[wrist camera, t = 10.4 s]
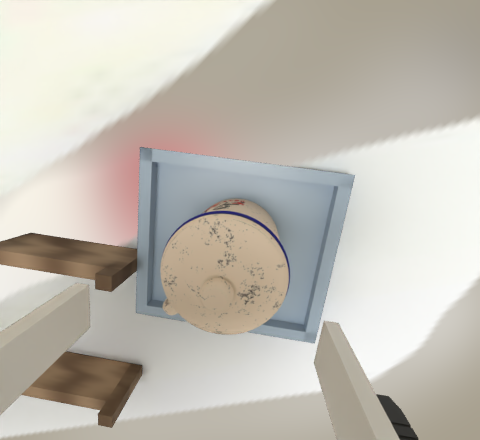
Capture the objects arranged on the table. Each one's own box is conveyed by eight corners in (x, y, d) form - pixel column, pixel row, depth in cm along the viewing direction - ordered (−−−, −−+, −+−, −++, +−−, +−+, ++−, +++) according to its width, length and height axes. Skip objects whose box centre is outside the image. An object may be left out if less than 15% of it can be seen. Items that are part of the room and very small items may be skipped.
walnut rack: (41, 356, 32) (-12, 402, 25) (30, 232, 27) (-37, 252, 21) (141, 374, 31) (111, 427, 25) (146, 250, 27) (111, 276, 21)
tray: (144, 302, 28) (135, 313, 26) (149, 148, 24) (139, 146, 22) (310, 330, 27) (314, 343, 25) (347, 174, 23) (355, 175, 21)
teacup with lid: (241, 176, 23) (221, 186, 12) (298, 244, 24) (331, 314, 13) (158, 248, 26) (76, 313, 14) (213, 307, 27) (177, 412, 15)
